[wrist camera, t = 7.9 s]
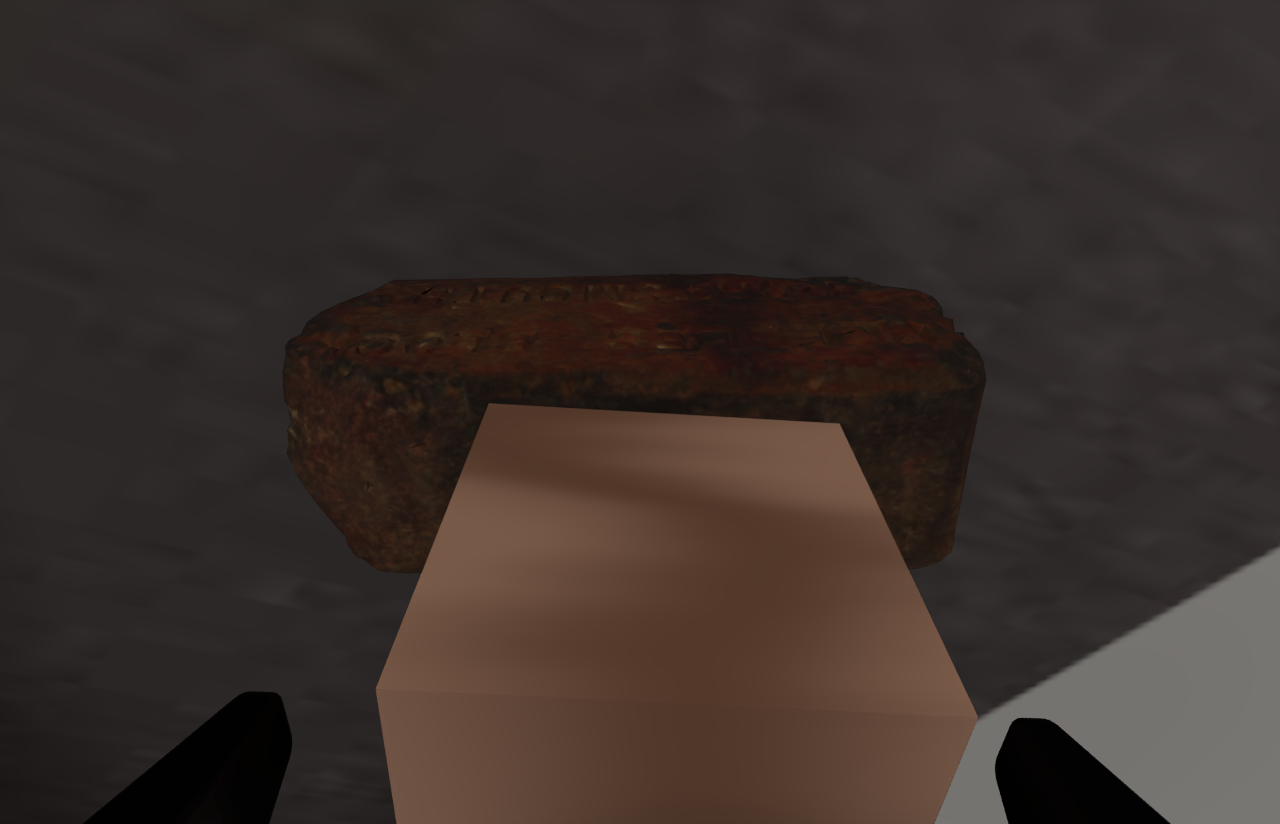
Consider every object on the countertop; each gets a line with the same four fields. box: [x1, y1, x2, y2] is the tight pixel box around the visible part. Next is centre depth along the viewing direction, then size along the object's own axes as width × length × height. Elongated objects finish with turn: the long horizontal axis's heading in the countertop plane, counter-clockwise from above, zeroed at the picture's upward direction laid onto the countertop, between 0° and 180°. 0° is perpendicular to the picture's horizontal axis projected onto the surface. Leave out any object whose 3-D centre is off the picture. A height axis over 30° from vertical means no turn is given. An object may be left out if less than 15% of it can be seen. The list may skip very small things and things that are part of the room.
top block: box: [376, 403, 978, 824], centre depth 9 cm, size 5×5×5 cm
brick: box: [283, 274, 986, 573], centre depth 13 cm, size 11×4×5 cm, turn 91°
